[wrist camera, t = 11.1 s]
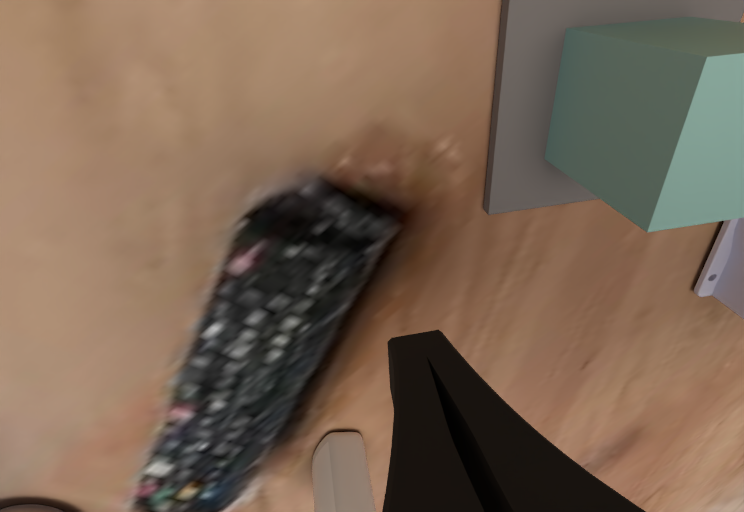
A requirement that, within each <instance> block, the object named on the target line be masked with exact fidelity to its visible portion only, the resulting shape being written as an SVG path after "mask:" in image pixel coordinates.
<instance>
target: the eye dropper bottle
mask: <svg viewBox="0 0 744 512" xmlns="http://www.w3.org/2000/svg"><path fill="white" fill-rule="evenodd" d="M312 480H313V495H314V511H315V512H376V509H375V503H374V497H373V492H372V486H371V481H370V475H369V469H368V464H367V458H366V453H365V447H364V442H363V439H362V436H361V435H360V434H359V433H357V432H334V433H330V434H328V435H327V436H326V437H325V438H324V439H323V440H322V441H321V442H320V444H319V445H318V447H317V448H316V450H315V453H314V455H313V459H312Z"/></svg>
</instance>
